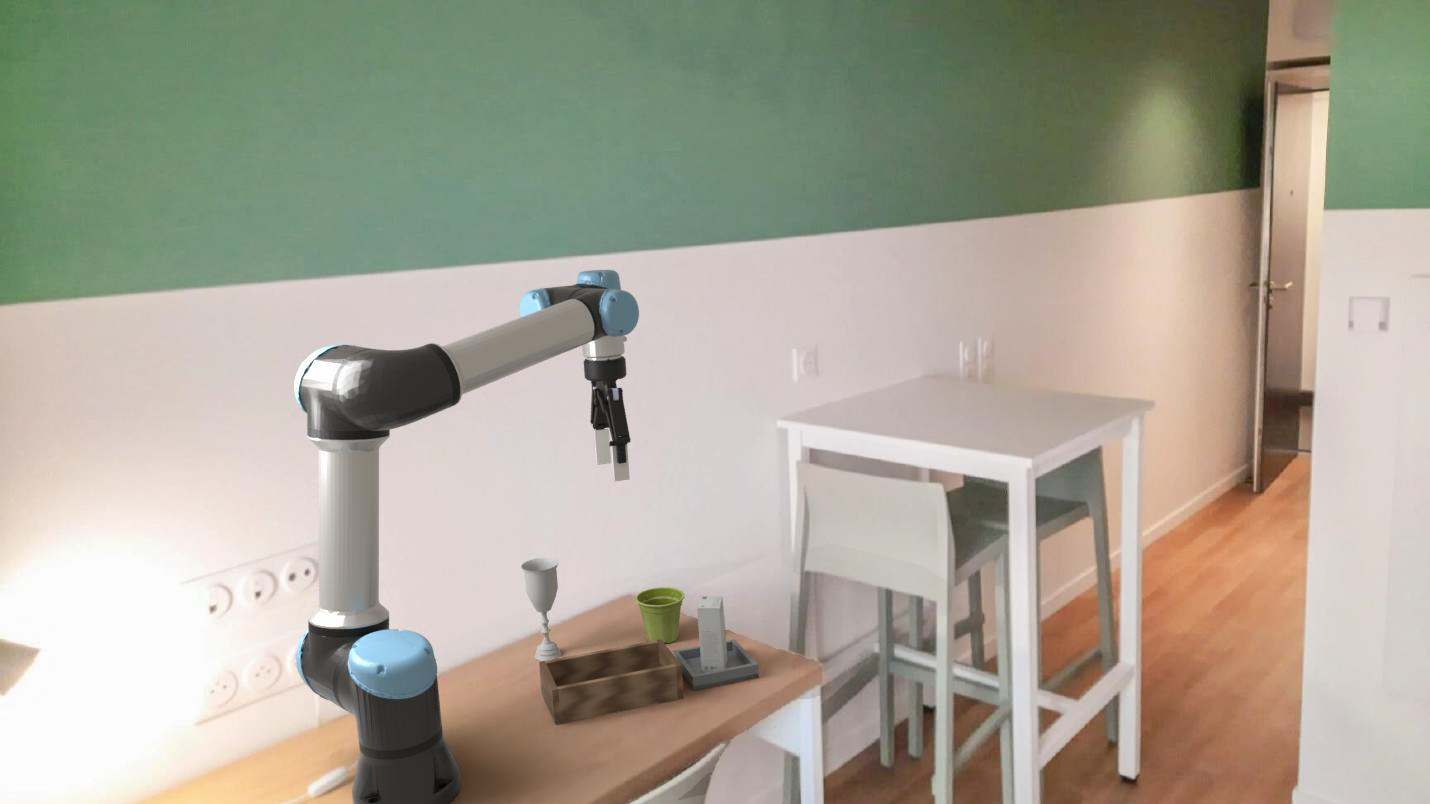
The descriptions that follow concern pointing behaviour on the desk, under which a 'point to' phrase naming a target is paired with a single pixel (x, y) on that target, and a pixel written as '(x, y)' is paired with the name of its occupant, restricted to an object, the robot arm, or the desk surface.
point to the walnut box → (610, 681)
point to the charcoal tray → (736, 670)
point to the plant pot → (661, 613)
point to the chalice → (542, 599)
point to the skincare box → (712, 633)
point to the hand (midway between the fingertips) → (612, 471)
